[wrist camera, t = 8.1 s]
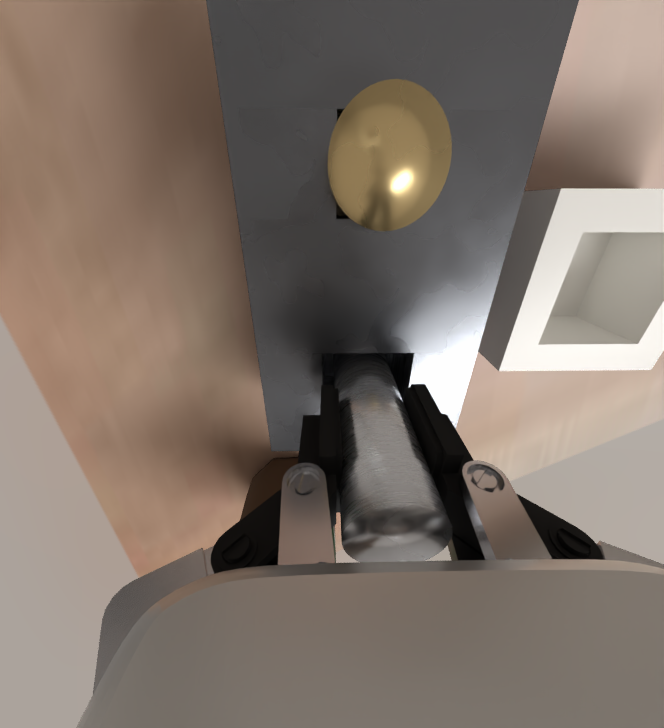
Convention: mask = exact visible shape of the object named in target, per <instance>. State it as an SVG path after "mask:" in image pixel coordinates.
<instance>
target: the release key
mask: <svg viewBox="0 0 664 728" xmlns="http://www.w3.org/2000/svg"><path fill="white" fill-rule="evenodd" d="M451 155H452V141H451V133H450V128H449V124H448V121H447V118H446V115H445V113H444V111H443V109H442V107H441V105H440V104H439V103H438V101H437V100H436V98H435V97H434V96H433V95H432V94H431V93H430V92H429V91H427V90H426V89H425V88H423V87H422V86H420V85H418V84H416V83H414V82H411V81H408V80H402V79H389V80H384V81H380V82H377V83H375V84H373V85H370V86H369V87H367V88H365V89H364V90H362V91H361V92H360V93H359V94H357V95H356V96H355V97H354V98H353V99H352V100H351V101H350V103H349V104H348V105H347V106H346V108H345V109H344V110H343V112H342V113H341V115H340V117H339V119H338V121H337V123H336V125H335V128H334V130H333V133H332V137H331V140H330V145H329V151H328V178H329V183H330V187H331V191H332V193H333V196H334V198H335V200H336V202H337V204H338V206H339V207H340V208H341V210H342V211H343V212H344V213H345V214H346V215H347V216H348V217H349V218H350V219H351V220H353V221H354V222H355V223H357V224H359V225H361V226H363V227H365V228H368V229H371V230H375V231H392V230H397V229H400V228H403V227H405V226H407V225H409V224H411V223H413V222H414V221H416V220H417V219H419V218H420V217H421V216H422V215H423V214H425V213H426V212H427V211H428V209H429V208H430V207H431V206H432V205H433V203H434V202H435V201H436V199H437V198H438V196H439V194H440V192H441V191H442V188H443V186H444V184H445V182H446V179H447V176H448V172H449V168H450V163H451Z"/></svg>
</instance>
